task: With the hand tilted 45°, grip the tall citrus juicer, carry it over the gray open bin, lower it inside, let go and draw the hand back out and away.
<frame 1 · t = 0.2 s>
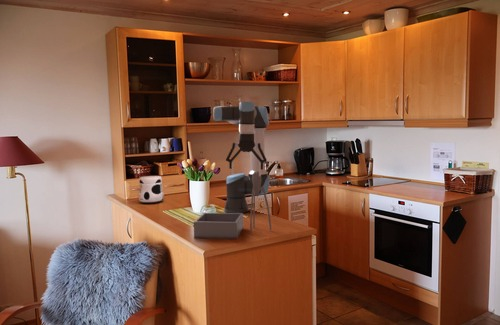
hand: (246, 175, 210), 29 cm above the countertop, tool pointing down, fingers open, 13 cm apart
citrus juicer: (256, 231, 213), on the countertop, touching gripper
gray open bin: (219, 233, 212), on the countertop
milk container: (151, 202, 297), on the countertop
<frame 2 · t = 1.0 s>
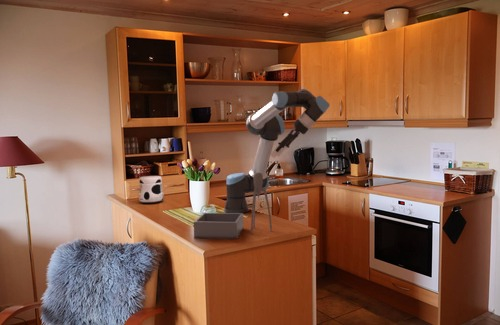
hand: (274, 155, 210), 38 cm above the countertop, tool tilted 45°, fingers open, 13 cm apart
citrus juicer: (257, 231, 213), on the countertop
everything else where it was.
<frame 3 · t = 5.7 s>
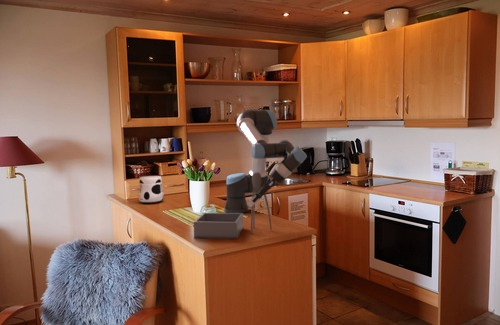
hand: (250, 203, 213), 14 cm above the countertop, tool tilted 45°, fingers open, 11 cm apart
citrus juicer: (257, 231, 213), on the countertop, touching gripper
everything else where it was.
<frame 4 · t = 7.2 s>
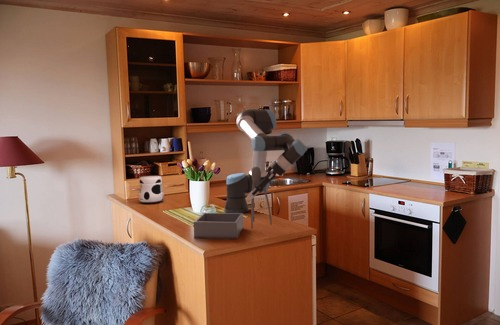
hand: (249, 197, 212), 18 cm above the countertop, tool tilted 45°, fingers closed on citrus juicer, 9 cm apart
citrus juicer: (257, 226, 212), point 3 cm above the countertop, touching gripper
everything else where it was.
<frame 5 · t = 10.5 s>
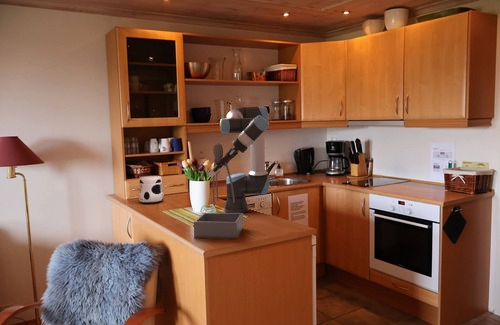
hand: (211, 174, 209), 30 cm above the countertop, tool tilted 45°, fingers closed on citrus juicer, 9 cm apart
citrus juicer: (220, 204, 210), point 15 cm above the countertop, touching gripper
everything else where it was.
when the fingers open (16 cm above the countertop, at t = 14.1 s): citrus juicer stays where it is, resting on gray open bin.
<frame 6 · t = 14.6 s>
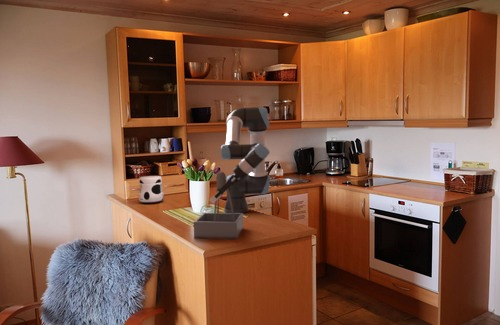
hand: (214, 199, 210), 17 cm above the countertop, tool tilted 45°, fingers open, 13 cm apart
citrus juicer: (220, 231, 211), point 1 cm above the countertop, touching gray open bin
everything else where it was.
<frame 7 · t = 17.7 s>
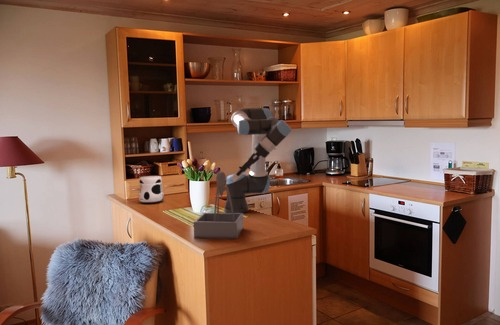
hand: (234, 178, 207), 28 cm above the countertop, tool tilted 45°, fingers open, 13 cm apart
nothing on the countertop moved.
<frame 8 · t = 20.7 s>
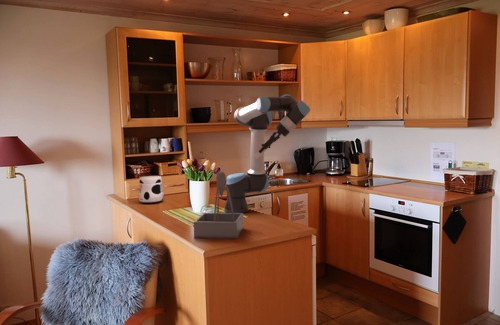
hand: (256, 155, 219), 38 cm above the countertop, tool tilted 45°, fingers open, 13 cm apart
nothing on the countertop moved.
at the end: citrus juicer inside the target area on the gray open bin (0.7 cm from its centre), point 0.8 cm above the gray open bin's base; citrus juicer tilted 0°; the gripper is holding nothing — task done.
